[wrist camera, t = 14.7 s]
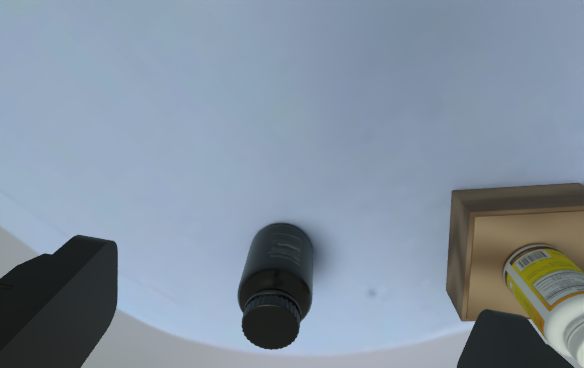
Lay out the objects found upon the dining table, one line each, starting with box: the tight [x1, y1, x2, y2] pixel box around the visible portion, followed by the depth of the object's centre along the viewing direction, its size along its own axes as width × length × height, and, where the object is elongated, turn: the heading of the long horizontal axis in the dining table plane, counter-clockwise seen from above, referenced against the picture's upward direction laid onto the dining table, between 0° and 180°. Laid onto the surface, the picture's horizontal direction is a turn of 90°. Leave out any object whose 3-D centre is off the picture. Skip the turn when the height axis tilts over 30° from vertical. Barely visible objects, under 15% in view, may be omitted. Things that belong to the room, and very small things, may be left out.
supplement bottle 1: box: [238, 224, 313, 350], centre depth 37 cm, size 7×7×12 cm
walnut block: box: [446, 183, 584, 321], centre depth 38 cm, size 12×12×5 cm
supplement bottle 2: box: [503, 245, 584, 368], centre depth 31 cm, size 6×6×10 cm
